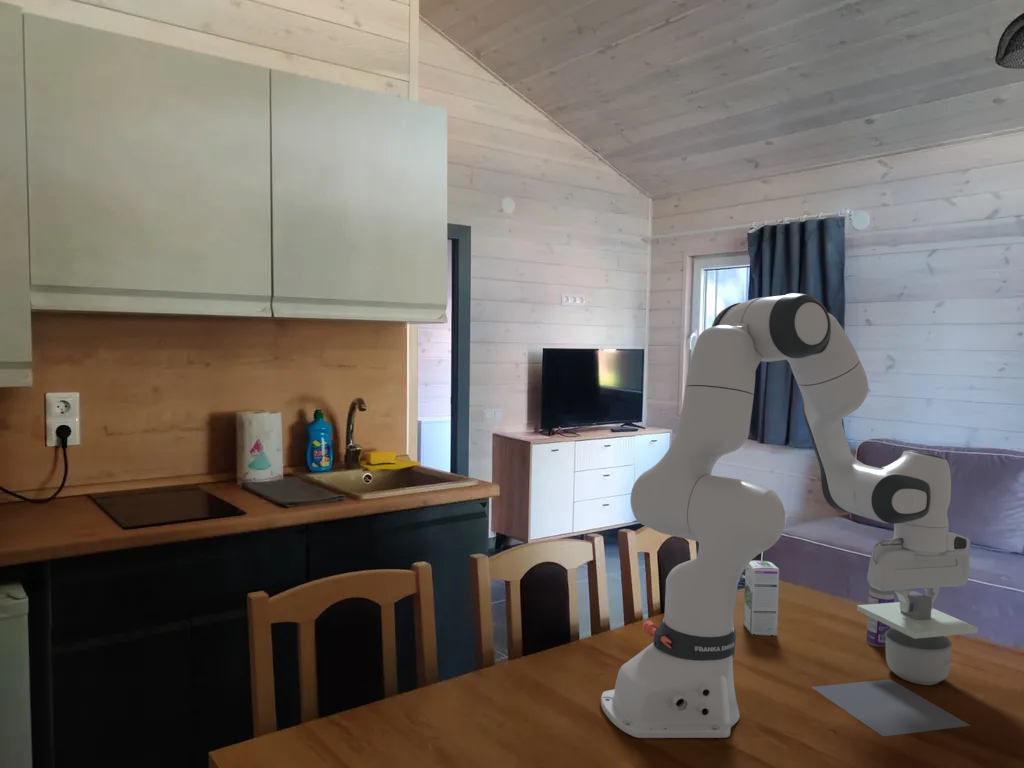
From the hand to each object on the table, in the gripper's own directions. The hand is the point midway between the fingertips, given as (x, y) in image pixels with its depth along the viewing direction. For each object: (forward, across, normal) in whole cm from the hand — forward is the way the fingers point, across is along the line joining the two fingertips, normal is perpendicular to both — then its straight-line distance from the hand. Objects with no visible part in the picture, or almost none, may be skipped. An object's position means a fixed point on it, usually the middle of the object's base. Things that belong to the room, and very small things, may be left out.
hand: (915, 610), depth 137 cm
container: (+12, +5, +14) cm, 19 cm away
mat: (+12, -15, -10) cm, 22 cm away
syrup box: (+12, -16, +25) cm, 32 cm away
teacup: (+12, 0, 0) cm, 13 cm away
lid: (+2, 0, 0) cm, 2 cm away
